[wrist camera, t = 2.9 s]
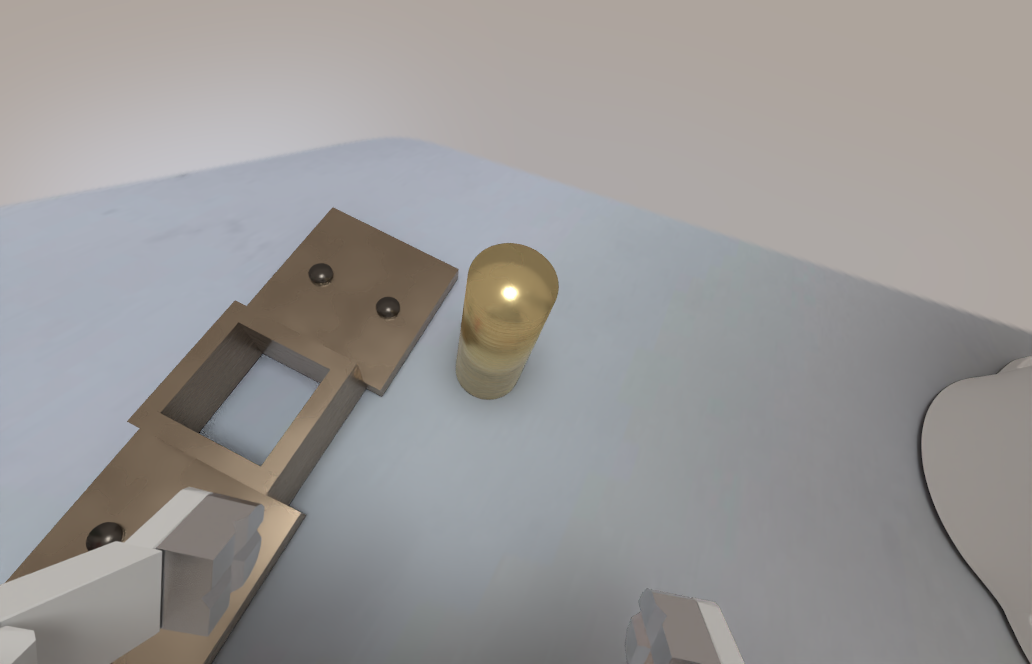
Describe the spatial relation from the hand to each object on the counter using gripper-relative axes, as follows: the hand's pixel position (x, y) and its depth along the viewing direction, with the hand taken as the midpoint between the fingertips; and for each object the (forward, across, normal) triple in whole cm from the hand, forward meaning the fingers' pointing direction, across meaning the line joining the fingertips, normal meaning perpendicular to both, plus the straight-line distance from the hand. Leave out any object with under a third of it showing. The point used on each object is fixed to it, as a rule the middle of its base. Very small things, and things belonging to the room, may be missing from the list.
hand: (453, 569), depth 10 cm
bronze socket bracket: (+13, +10, +6) cm, 17 cm away
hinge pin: (+16, 0, +2) cm, 16 cm away
